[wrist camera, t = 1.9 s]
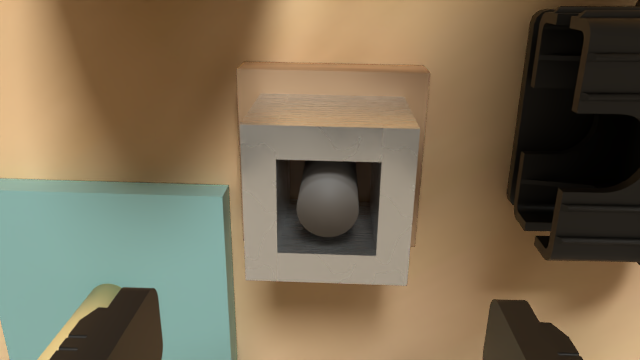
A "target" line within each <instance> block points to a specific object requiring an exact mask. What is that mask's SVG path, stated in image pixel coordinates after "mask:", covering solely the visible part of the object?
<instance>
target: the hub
mask: <svg viewBox="0 0 640 360" xmlns="http://www.w3.org/2000/svg"><path fill="white" fill-rule="evenodd" d="M123 287H136V288H155V289H156V291H157V294H158V300H159V310H160V319H161V328H162V338H163V353H162V359H161V360H237V343H236V322H235V302H234V282H233V262H232V242H231V222H230V202H229V185H208V184H174V183H139V182H105V181H70V180H35V179H1V178H0V320H1V324H2V329H3V333H4V337H5V341H6V346H7V350H8V354H9V358H10V360H49V359H50V358H51V357H52V355H53V354H54V353H55V351H56V350H59V346H60V345H61V344H62V342H63V341H64V340H65V338H68V335H69V333H70V332H71V331H72V329H73V328H74V327H75V326H76V324H77V323H78V322H79V320H80V319H82V318H83V317H85V316H86V315H88V314H89V313H91V312H92V311H94V310H95V309H97V308H98V307H105V308H107V307H108V306H109V305H110V303H111V302H112V300H113V299H114V298H115V296H116V295H117V294H118V292H119V291H120V290H121V288H123Z"/></svg>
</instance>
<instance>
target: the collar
mask: <svg viewBox="0 0 640 360" xmlns="http://www.w3.org/2000/svg"><path fill="white" fill-rule="evenodd" d="M419 138H420V127H419V125H418V124H417V122H416V120H415V118H414V116H413V114H412V112H411V110H410V108H409V106H408V104H407V102H406V100H405V98H404V97H394V96H351V95H308V94H265V93H261V94H260V95H259V97H258V98H257V100H256V101H255V103H254V104H253V106H252V107H251V109H250V110H249V111H248V113H247V114H246V116H245V117H244V119H243V120H242V122H241V123H240V149H241V174H242V199H243V224H244V249H245V274H246V280H256V281H285V282H314V283H343V284H372V285H401V286H407V279H408V267H409V255H410V243H411V232H412V220H413V208H414V196H415V185H416V173H417V161H418V149H419ZM290 160H315V161H352V162H372V167H371V186H370V202H367V201H358V203H359V213H358V217H357V220H356V222H355V223H354V225H353V226H352V227H351V228H350V229H349V230H348V231H347V232H345V233H343V234H341V235H339V236H335V237H321V236H318V235H315V234H313V233H311V232H309V231H308V230H307V229H305V228H304V226H303V225H302V224H301V222H300V221H299V219H298V216H297V210H296V207H297V200H298V199H290Z"/></svg>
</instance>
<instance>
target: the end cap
mask: <svg viewBox="0 0 640 360" xmlns="http://www.w3.org/2000/svg"><path fill="white" fill-rule="evenodd" d="M507 197H508V200H509V201H510V202H511V203H512V204H513V205H514V214H515V218H516V220H517V221H518V222H519V224H520V225H521V227H522V228H523V229H524V231H551V232H550V236H536V237H535V243H534V245H535V246H536V248H537V249H538V251H539V252H540V253H541V255H542V256H543V258H544V259H545V260H564V261H611V262H637V263H638V264H639V265H640V0H638V1H637V3H636V7H605V6H560V7H558V8H557V9H545V10H541V11H538V12H537V13H536V14H535V15H534V16H533V17H532V20H531V22H530V27H529V35H528V42H527V49H526V57H525V64H524V71H523V78H522V86H521V93H520V100H519V108H518V115H517V122H516V130H515V137H514V144H513V151H512V159H511V166H510V173H509V181H508V188H507Z"/></svg>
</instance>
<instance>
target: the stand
mask: <svg viewBox="0 0 640 360" xmlns="http://www.w3.org/2000/svg"><path fill="white" fill-rule="evenodd" d="M236 73H237V97H238V122H239V146H240V123H241V122H242V120H243V119H244V117H245V116H246V114H247V113H248V111H249V110H250V109H251V107H252V106H253V104H254V103H255V101H256V100H257V98H258V97H259V95H260V94H261V93H265V94H308V95H351V96H394V97H404V98H405V100H406V102H407V104H408V106H409V108H410V110H411V112H412V114H413V116H414V118H415V120H416V122H417V124H418V125H419V127H420V138H419V149H418V161H417V173H416V185H415V196H414V208H413V220H412V232H411V243H410V246H412V247H415V240H416V229H417V218H418V206H419V195H420V184H421V173H422V161H423V150H424V139H425V127H426V116H427V105H428V94H429V82H430V72H429V71H428V70H427V69H426V68H425V67H424V66H423V65H378V64H331V63H285V62H244V63H243V64H241V65H240V66H239V67H238V68H237V69H236ZM371 167H372V162H352V161H315V160H290V199H298V200H297V207H296V210H297V216H298V219H299V221H300V222H301V224H302V225H303V226H304V228H305V229H307V230H308V231H309V232H311V233H313V234H315V235H318V236H321V237H335V236H339V235H341V234H343V233H345V232H347V231H348V230H349V229H350V228H351V227H352V226H353V225H354V223H355V222H356V220H357V217H358V213H359V203H358V201H367V202H370V186H371ZM240 171H241V149H240ZM241 195H242V174H241ZM242 220H243V199H242ZM243 241H244V224H243Z"/></svg>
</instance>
